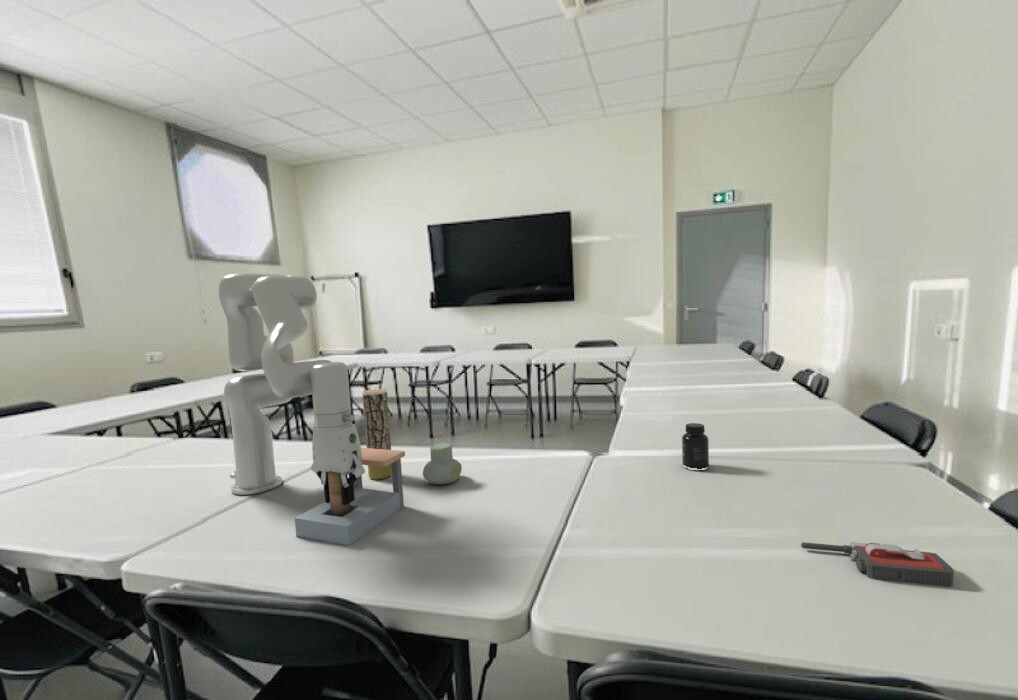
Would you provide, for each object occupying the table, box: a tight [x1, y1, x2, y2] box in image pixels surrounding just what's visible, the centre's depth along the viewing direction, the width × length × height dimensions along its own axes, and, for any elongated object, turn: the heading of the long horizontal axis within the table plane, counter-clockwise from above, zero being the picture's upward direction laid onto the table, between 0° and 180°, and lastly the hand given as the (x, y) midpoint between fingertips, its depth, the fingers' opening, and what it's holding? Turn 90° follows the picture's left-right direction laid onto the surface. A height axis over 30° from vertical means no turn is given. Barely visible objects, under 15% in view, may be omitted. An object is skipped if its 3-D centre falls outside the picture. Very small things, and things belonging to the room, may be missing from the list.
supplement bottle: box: [681, 422, 710, 469], centre depth 129 cm, size 7×7×12 cm
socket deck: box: [294, 447, 406, 546], centre depth 105 cm, size 16×20×14 cm
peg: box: [328, 471, 351, 517], centre depth 101 cm, size 4×4×12 cm
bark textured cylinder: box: [362, 388, 392, 480], centre depth 133 cm, size 7×7×25 cm
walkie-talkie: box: [800, 541, 954, 588], centre depth 78 cm, size 9×4×20 cm
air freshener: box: [422, 442, 462, 486], centre depth 127 cm, size 11×8×10 cm
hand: (340, 500), depth 101 cm, fingers closed on peg, 4 cm apart
